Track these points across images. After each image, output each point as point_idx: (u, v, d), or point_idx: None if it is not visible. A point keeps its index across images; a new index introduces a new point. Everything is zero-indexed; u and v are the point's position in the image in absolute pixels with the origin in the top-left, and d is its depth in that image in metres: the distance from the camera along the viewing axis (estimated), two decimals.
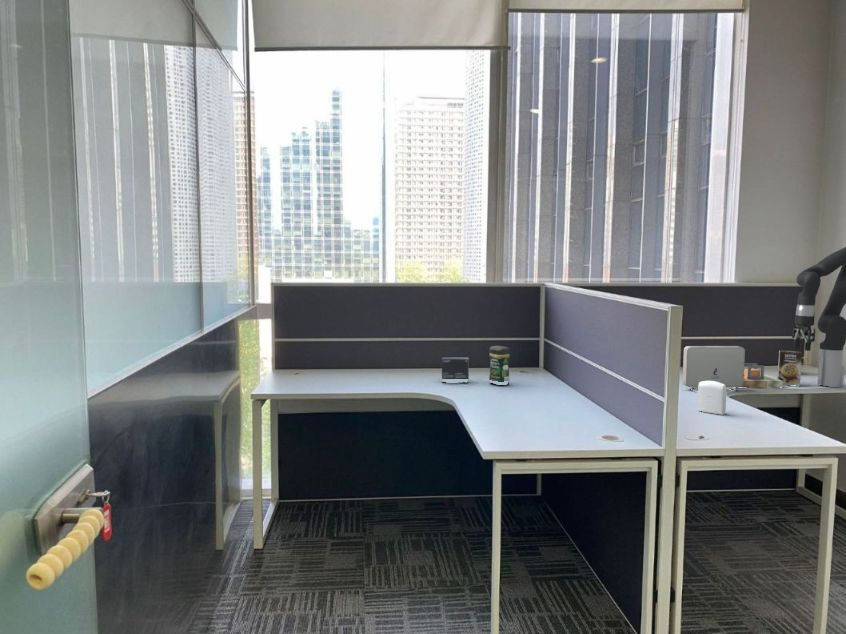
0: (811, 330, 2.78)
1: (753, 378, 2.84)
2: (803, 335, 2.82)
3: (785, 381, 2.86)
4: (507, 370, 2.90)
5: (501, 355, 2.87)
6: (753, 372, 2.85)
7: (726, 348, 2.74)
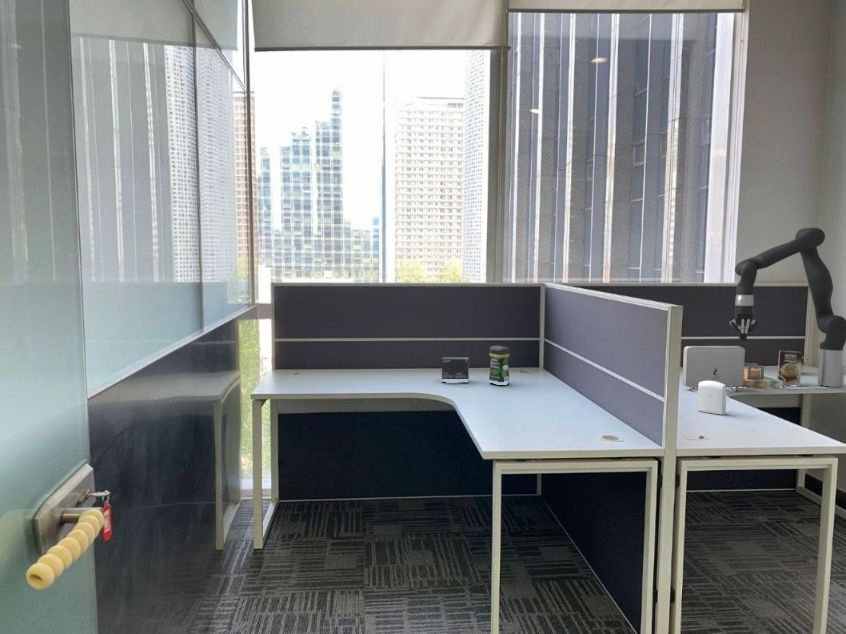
0: None
1: (753, 378, 2.84)
2: (747, 326, 2.84)
3: (785, 381, 2.86)
4: (507, 370, 2.90)
5: (501, 355, 2.87)
6: (753, 372, 2.85)
7: (726, 348, 2.74)
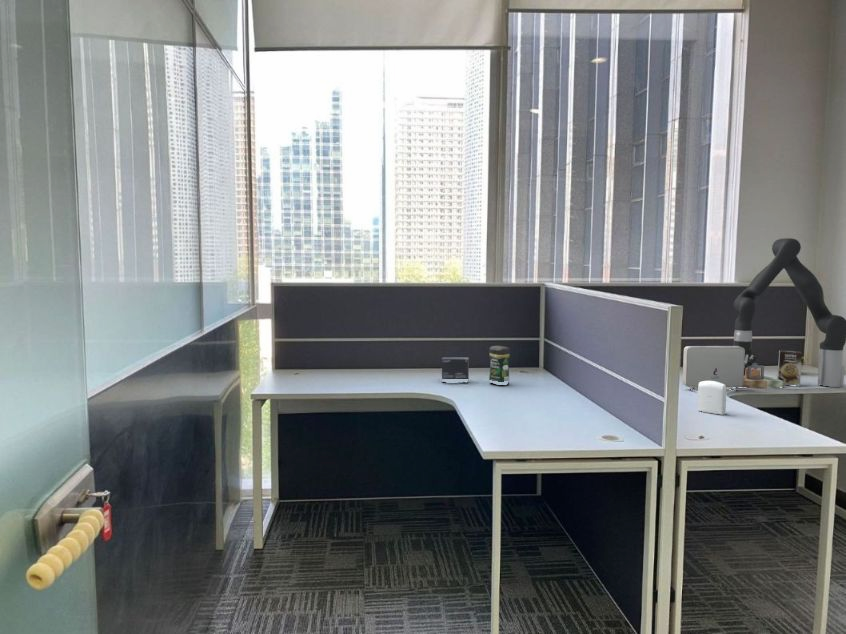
0: None
1: (753, 378, 2.84)
2: (746, 361, 2.86)
3: (785, 381, 2.86)
4: (507, 370, 2.90)
5: (501, 355, 2.87)
6: (753, 372, 2.85)
7: (726, 348, 2.74)
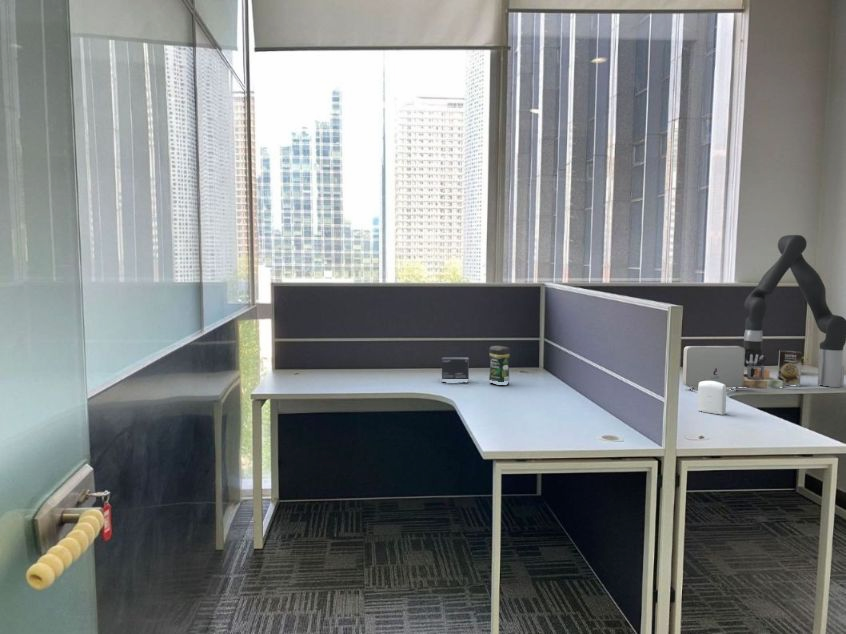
0: None
1: (753, 378, 2.84)
2: (756, 361, 2.85)
3: (785, 381, 2.86)
4: (507, 370, 2.90)
5: (501, 355, 2.87)
6: None
7: (726, 348, 2.74)
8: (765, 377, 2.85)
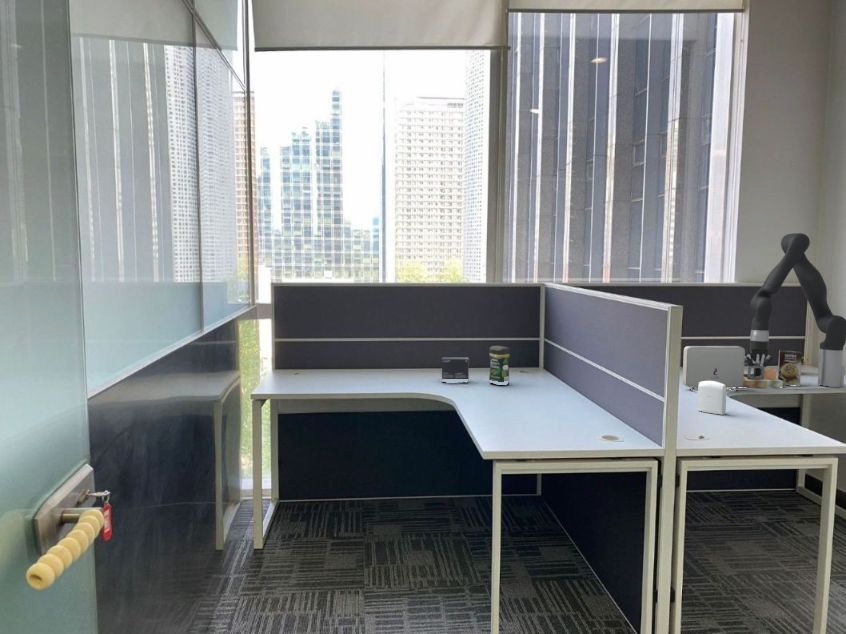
0: None
1: (753, 378, 2.84)
2: (762, 361, 2.85)
3: (785, 381, 2.86)
4: (507, 370, 2.90)
5: (501, 355, 2.87)
6: (770, 372, 2.85)
7: (726, 348, 2.74)
8: (772, 377, 2.85)
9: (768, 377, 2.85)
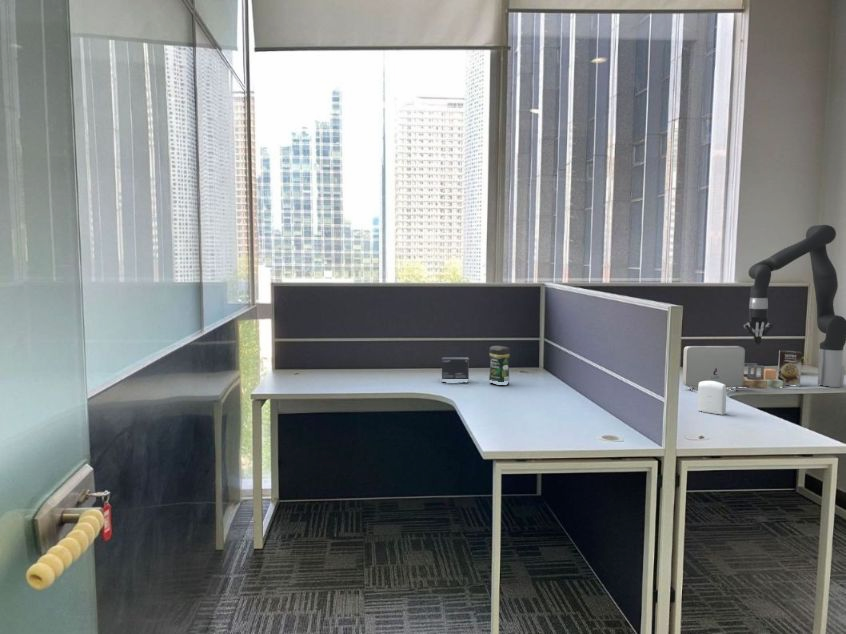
0: None
1: (753, 378, 2.84)
2: (762, 329, 2.84)
3: (785, 381, 2.86)
4: (507, 370, 2.90)
5: (501, 355, 2.87)
6: (770, 372, 2.85)
7: (726, 348, 2.74)
8: (772, 377, 2.85)
9: (768, 377, 2.85)
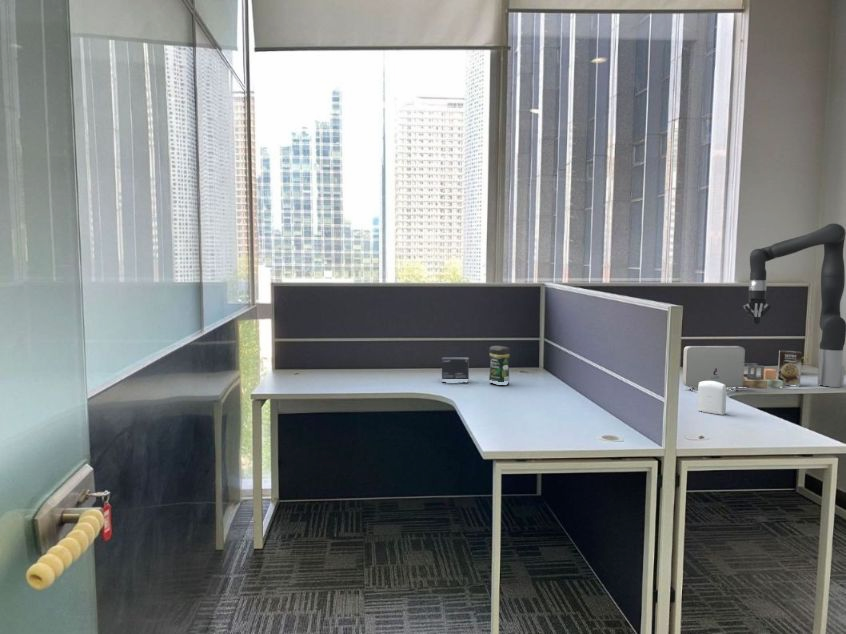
0: None
1: (753, 378, 2.84)
2: (760, 310, 3.01)
3: (785, 381, 2.86)
4: (507, 370, 2.90)
5: (501, 355, 2.87)
6: (770, 372, 2.85)
7: (726, 348, 2.74)
8: (772, 377, 2.85)
9: (768, 377, 2.85)
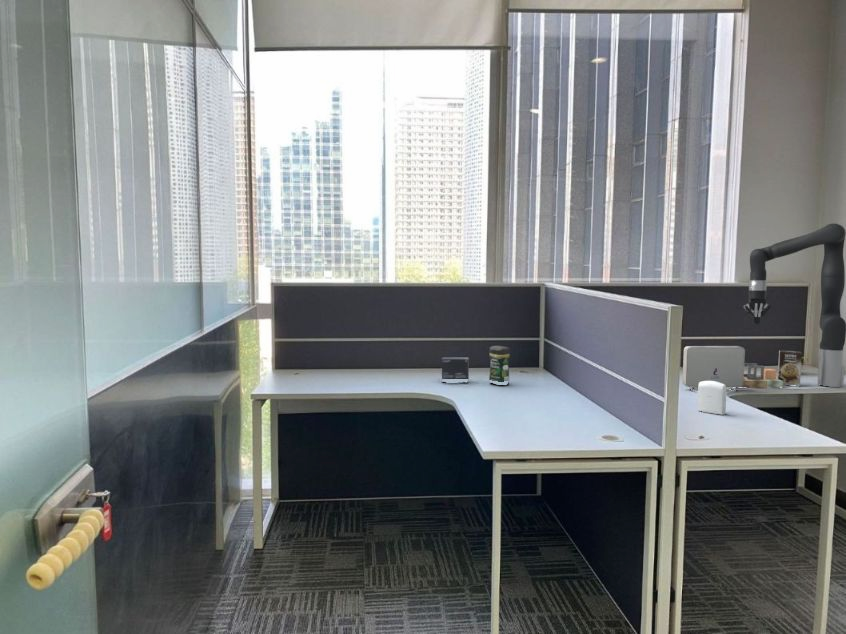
0: None
1: (753, 378, 2.84)
2: (760, 310, 3.01)
3: (785, 381, 2.86)
4: (507, 370, 2.90)
5: (501, 355, 2.87)
6: (770, 372, 2.85)
7: (726, 348, 2.74)
8: (772, 377, 2.85)
9: (768, 377, 2.85)
